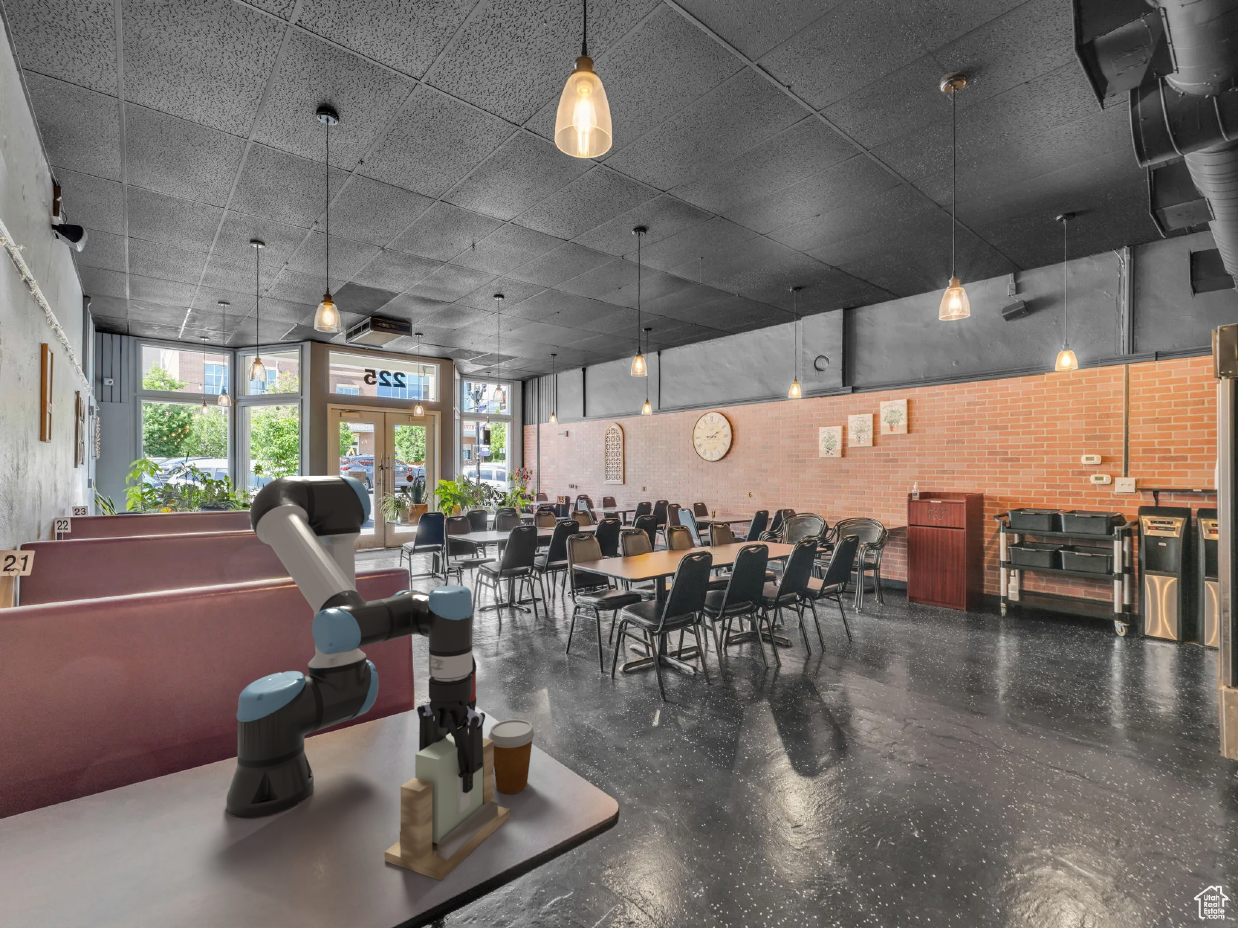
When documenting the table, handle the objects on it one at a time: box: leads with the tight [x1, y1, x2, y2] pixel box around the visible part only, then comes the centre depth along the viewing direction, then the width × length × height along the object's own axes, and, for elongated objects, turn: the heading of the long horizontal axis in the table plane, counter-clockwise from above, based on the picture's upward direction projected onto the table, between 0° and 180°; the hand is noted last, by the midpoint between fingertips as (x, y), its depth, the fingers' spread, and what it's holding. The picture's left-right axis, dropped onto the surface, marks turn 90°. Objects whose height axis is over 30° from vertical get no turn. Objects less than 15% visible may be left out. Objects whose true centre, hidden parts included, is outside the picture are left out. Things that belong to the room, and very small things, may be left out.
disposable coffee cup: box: [487, 719, 536, 795], centre depth 123 cm, size 10×10×12 cm
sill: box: [384, 737, 511, 881], centre depth 105 cm, size 12×20×14 cm, turn 156°
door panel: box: [414, 727, 483, 844], centre depth 105 cm, size 5×12×14 cm, turn 156°
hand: (450, 804), depth 105 cm, fingers closed on door panel, 5 cm apart
